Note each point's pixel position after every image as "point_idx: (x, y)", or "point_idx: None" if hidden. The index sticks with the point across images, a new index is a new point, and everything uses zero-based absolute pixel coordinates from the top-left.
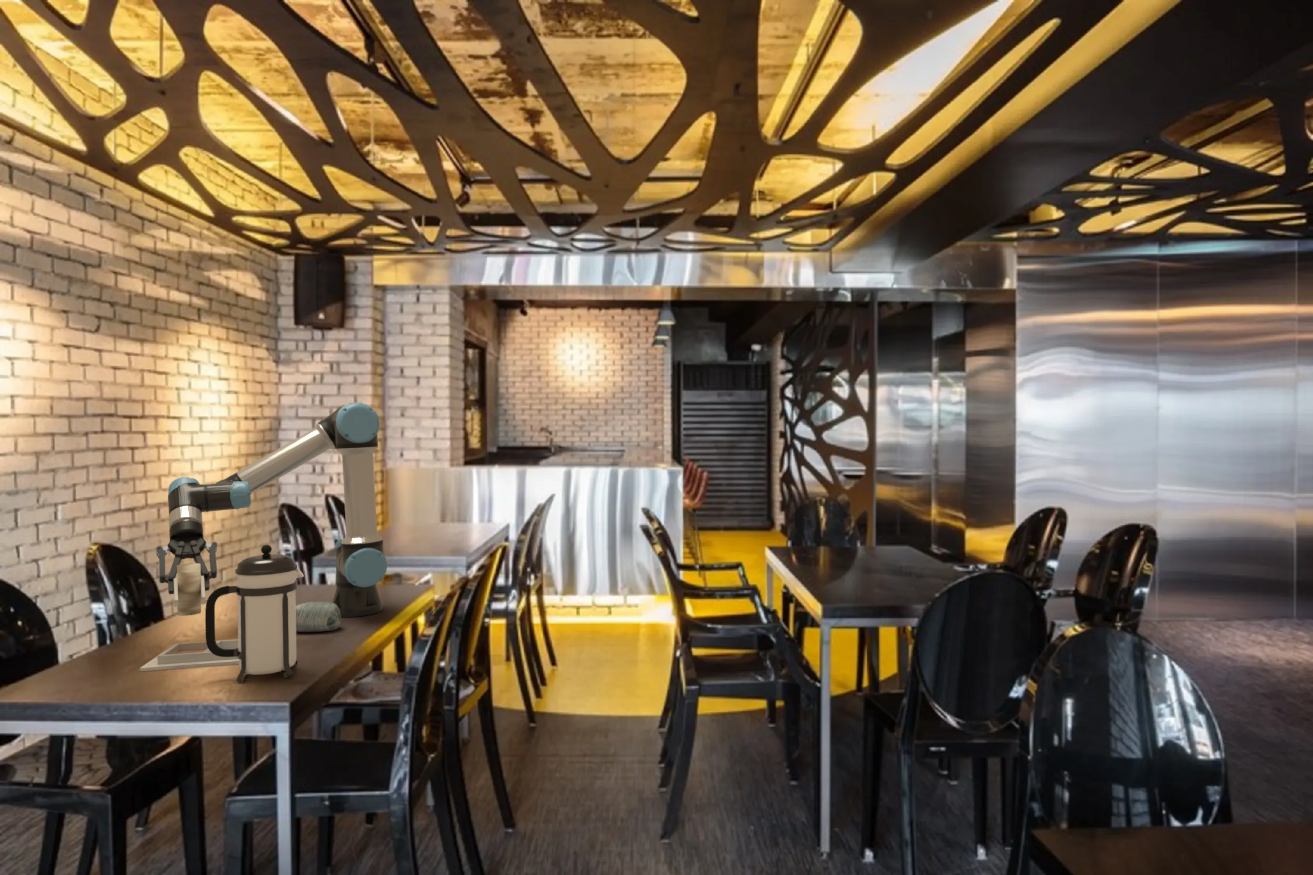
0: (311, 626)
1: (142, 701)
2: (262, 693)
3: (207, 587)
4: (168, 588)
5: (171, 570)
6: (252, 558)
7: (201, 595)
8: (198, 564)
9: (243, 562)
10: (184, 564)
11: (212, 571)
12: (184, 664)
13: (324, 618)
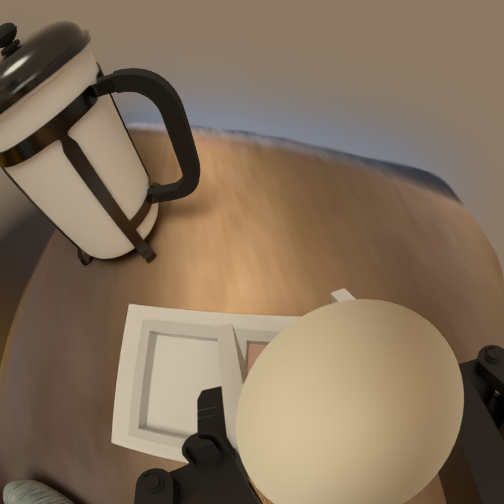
0: (57, 492)
1: (286, 150)
2: (139, 150)
3: (210, 392)
4: None
5: (477, 407)
6: (45, 26)
7: (236, 340)
8: (254, 424)
9: (67, 21)
10: (418, 459)
11: (166, 478)
12: (282, 319)
13: (27, 481)
